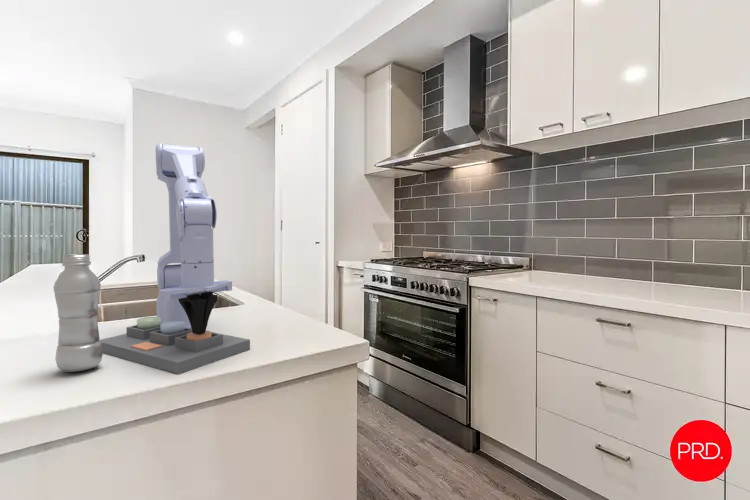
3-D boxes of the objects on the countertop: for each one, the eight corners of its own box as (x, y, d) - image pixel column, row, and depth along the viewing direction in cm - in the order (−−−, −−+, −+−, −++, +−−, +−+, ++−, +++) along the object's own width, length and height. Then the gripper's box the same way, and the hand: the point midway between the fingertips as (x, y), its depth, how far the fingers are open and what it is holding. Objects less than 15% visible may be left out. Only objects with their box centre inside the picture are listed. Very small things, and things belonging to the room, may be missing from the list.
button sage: (132, 329, 84) (132, 319, 84) (153, 324, 88) (152, 315, 88) (145, 331, 82) (144, 322, 82) (165, 327, 86) (165, 318, 86)
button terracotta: (181, 345, 76) (181, 334, 76) (201, 339, 80) (201, 329, 80) (196, 348, 74) (196, 338, 74) (216, 342, 78) (216, 332, 78)
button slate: (155, 334, 80) (155, 324, 80) (176, 329, 84) (175, 319, 84) (169, 337, 78) (169, 327, 78) (189, 332, 82) (189, 322, 82)
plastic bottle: (72, 364, 73) (67, 253, 72) (111, 363, 73) (107, 253, 72) (46, 377, 66) (40, 256, 65) (89, 376, 67) (84, 256, 66)
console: (95, 350, 81) (95, 331, 80) (170, 332, 95) (169, 315, 94) (177, 374, 68) (177, 351, 68) (250, 349, 82) (249, 330, 82)
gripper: (175, 266, 68) (177, 345, 69) (242, 260, 81) (243, 327, 82) (150, 264, 72) (152, 339, 72) (218, 258, 84) (219, 323, 85)
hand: (199, 332), depth 77 cm, fingers closed
